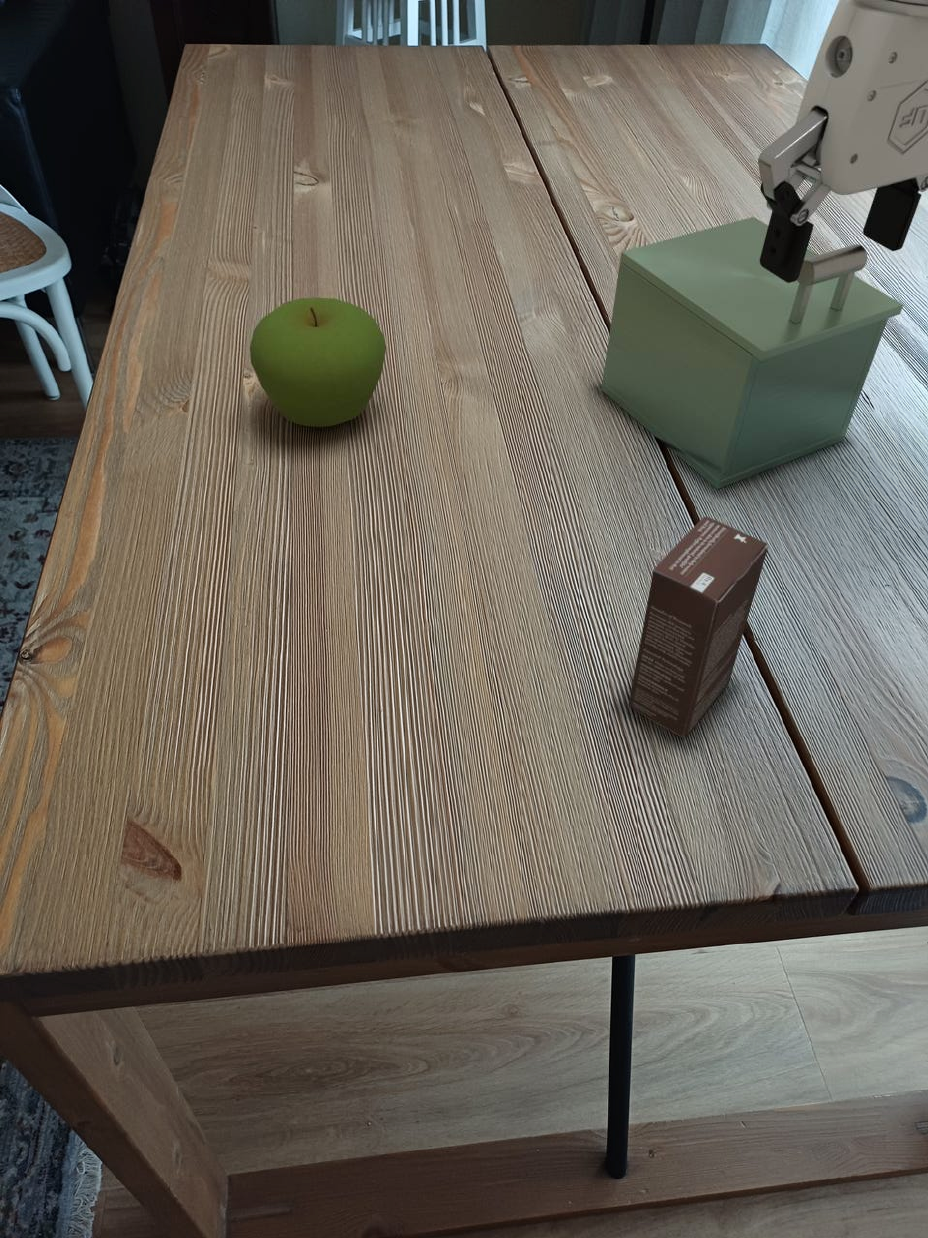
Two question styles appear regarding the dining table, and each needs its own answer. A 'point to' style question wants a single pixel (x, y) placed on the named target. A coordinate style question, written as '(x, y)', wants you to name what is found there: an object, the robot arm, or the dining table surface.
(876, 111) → the robot arm
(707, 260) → the bin lid
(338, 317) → the apple
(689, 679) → the box
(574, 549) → the dining table surface
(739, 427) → the trash can
